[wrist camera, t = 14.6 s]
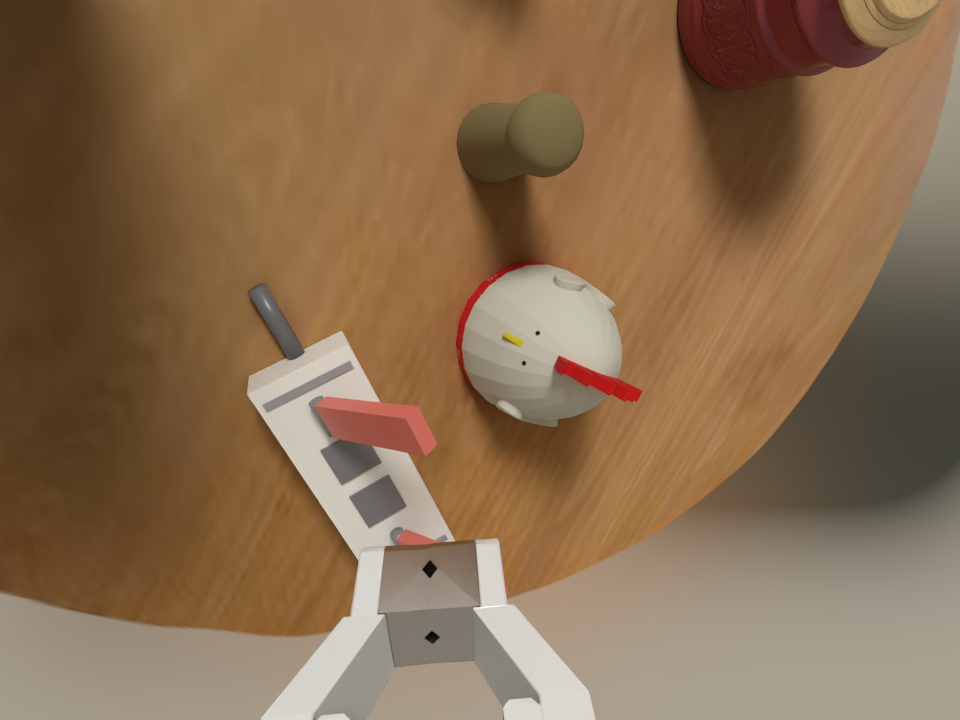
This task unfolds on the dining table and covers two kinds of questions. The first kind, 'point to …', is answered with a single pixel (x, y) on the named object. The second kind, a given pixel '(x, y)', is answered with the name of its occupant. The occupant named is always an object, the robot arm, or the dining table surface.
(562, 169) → the cork
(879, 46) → the canister
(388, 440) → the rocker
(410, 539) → the rocker
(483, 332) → the kitchen timer
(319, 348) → the power strip
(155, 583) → the dining table surface
